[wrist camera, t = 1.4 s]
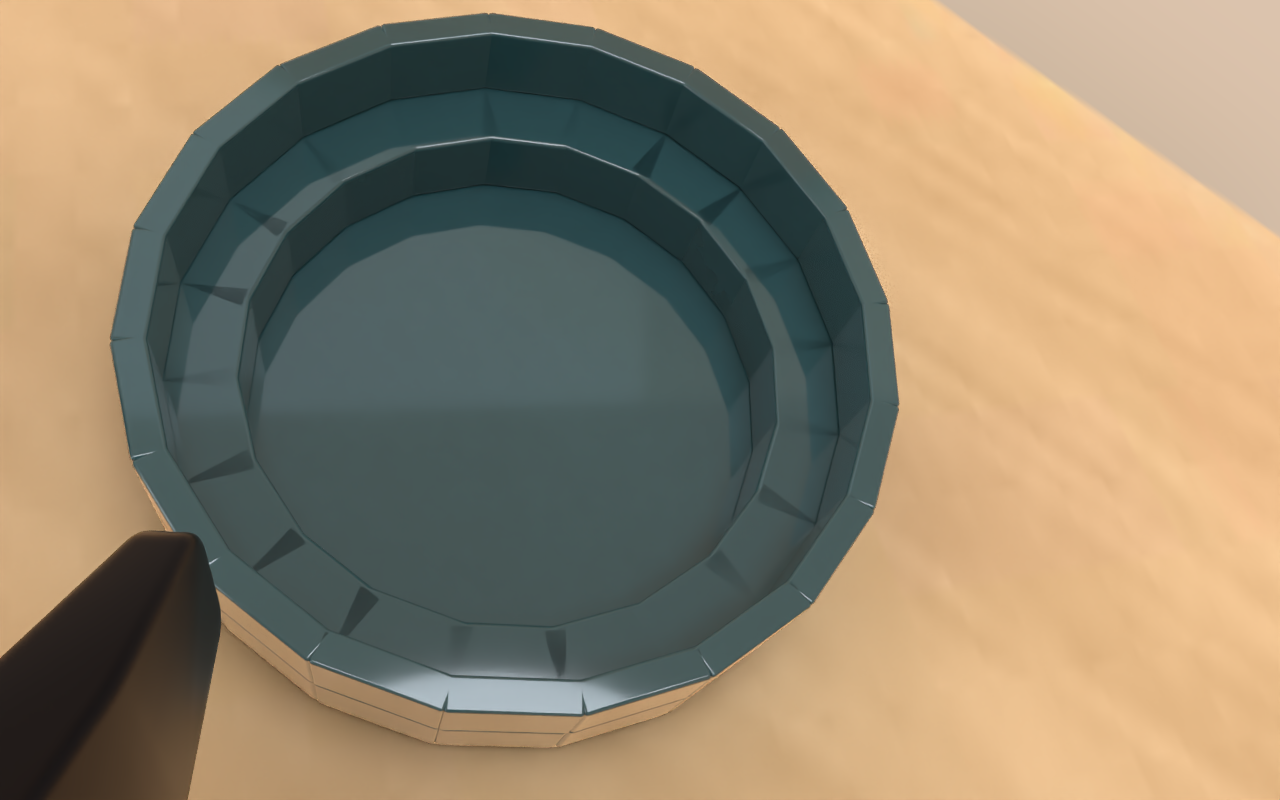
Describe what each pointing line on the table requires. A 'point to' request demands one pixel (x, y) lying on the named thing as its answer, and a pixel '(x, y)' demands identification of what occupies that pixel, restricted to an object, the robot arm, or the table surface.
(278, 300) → the bowl
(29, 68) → the table surface
